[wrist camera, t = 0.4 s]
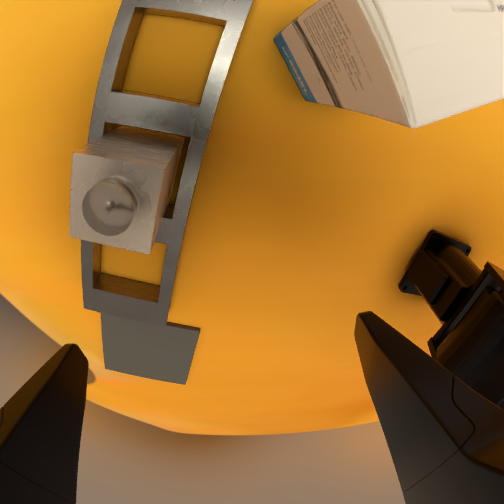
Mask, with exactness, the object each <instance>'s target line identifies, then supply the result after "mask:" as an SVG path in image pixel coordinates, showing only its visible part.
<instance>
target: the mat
mask: <svg viewBox="0 0 504 504" xmlns="http://www.w3.org/2000/svg"><path fill="white" fill-rule="evenodd" d="M101 325H102V340H103V352H104V363H105V369H109V370H113V371H117V372H122V373H126V374H131V375H135V376H140V377H145V378H150V379H155V380H160V381H166V382H172V383H178V384H184V385H186V381H187V377H188V373H189V370H190V366H191V362H192V359H193V355H194V351H195V348H196V344H197V340H198V337H199V333H200V328H195V327H190V326H184V325H179V324H174V323H169V322H167V324H166V327H163V326H158V325H154V324H149V323H144V322H139V321H135V320H130V319H126V318H122V317H117V316H113V315H109V314H105V313H101Z"/></svg>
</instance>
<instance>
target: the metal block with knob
mask: <svg viewBox="0 0 504 504" xmlns="http://www.w3.org/2000/svg"><path fill="white" fill-rule="evenodd" d="M183 142H184V137H179V136H174V135H169V134H165V133H160V132H154V131H149V130H144V129H138V128H132V127H127V126H120V127H118V128H116V129H114V130H112V131H111V132H109V133H107V134H105V135H103V136H101V137H99V138H98V139H96V140H94V141H92V142H90V143H89V144H87V145H85V146H83V147H82V148H80V149H78V150H77V151H75V152H73V163H72V175H71V192H70V237H73V238H78V239H82V240H86V241H91V242H95V243H99V244H104V245H108V246H113V247H117V248H122V249H126V250H131V251H135V252H140V253H144V254H149V255H150V252H151V249H152V246H153V244H154V241H155V238H156V235H157V233H158V230H159V227H160V224H161V222H162V219H163V217H164V214H165V211H166V209H167V206H168V204H169V201H170V199H171V194H172V189H173V185H174V180H175V176H176V171H177V167H178V163H179V158H180V154H181V150H182V146H183Z"/></svg>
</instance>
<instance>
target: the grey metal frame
mask: <svg viewBox="0 0 504 504" xmlns="http://www.w3.org/2000/svg"><path fill="white" fill-rule="evenodd" d="M252 2H253V0H123V1H122V4H121V6H120V9H119V12H118V15H117V18H116V21H115V24H114V27H113V30H112V33H111V36H110V40H109V43H108V47H107V50H106V54H105V58H104V61H103V65H102V69H101V74H100V78H99V82H98V87H97V91H96V96H95V101H94V107H93V112H92V118H91V124H90V130H89V137H88V144H89V143H90V142H92V141H94V140H96V139H98V138H99V137H101V136H103V135H105V134H107V133H109V132H111V131H112V130H114V124H115V123H116V124H122V125H128V126H134V127H140V128H145V129H151V130H156V131H161V132H166V133H171V134H176V135H181V136H185V137H190V138H191V140H190V143H189V147H188V151H187V155H186V159H185V164H184V168H183V172H182V176H181V181H180V185H179V190H178V194H177V199H176V203H175V206H172V205H168V206H167V209H166V211H165V214H164V217H163V219H162V222H161V224H160V227H159V230H158V233H157V235H156V238H155V242H160V243H164V244H167V250H166V255H165V261H164V267H163V273H162V279H161V286H157V285H153V284H148V283H143V282H139V281H134V280H130V279H125V278H121V277H117V276H112V275H108V274H104V273H101V244H99V243H95V242H91V241H86V240H82V239H81V264H82V287H83V302H84V308H85V309H89V310H93V311H97V312H101V313H105V314H109V315H113V316H117V317H122V318H126V319H130V320H135V321H139V322H144V323H149V324H154V325H158V326H163V327H166V324H167V318H168V312H169V307H170V301H171V295H172V290H173V285H174V279H175V274H176V269H177V264H178V259H179V254H180V249H181V245H182V240H183V235H184V231H185V226H186V222H187V217H188V213H189V209H190V204H191V200H192V196H193V192H194V188H195V184H196V180H197V176H198V172H199V168H200V164H201V161H202V157H203V153H204V149H205V146H206V142H207V138H208V135H209V131H210V128H211V124H212V121H213V117H214V114H215V111H216V107H217V104H218V101H219V97H220V94H221V91H222V88H223V85H224V81H225V78H226V75H227V72H228V69H229V66H230V63H231V60H232V57H233V54H234V51H235V48H236V45H237V43H238V40H239V37H240V34H241V31H242V29H243V26H244V23H245V20H246V18H247V15H248V12H249V10H250V7H251V5H252ZM144 13H145V14H154V15H163V16H170V17H177V18H184V19H190V20H195V21H201V22H206V23H211V24H215V25H220V26H224V27H225V29H224V31H223V34H222V37H221V40H220V43H219V46H218V49H217V52H216V55H215V58H214V61H213V64H212V67H211V70H210V73H209V76H208V80H207V83H206V86H205V89H204V93H203V96H202V100H201V103H200V104H197V103H193V102H188V101H183V100H178V99H173V98H168V97H163V96H157V95H151V94H145V93H139V92H132V91H125V90H122V86H123V82H124V78H125V74H126V70H127V67H128V63H129V59H130V56H131V52H132V49H133V45H134V42H135V39H136V36H137V33H138V30H139V26H140V23H141V21H142V18H143V15H144Z"/></svg>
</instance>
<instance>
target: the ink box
mask: <svg viewBox="0 0 504 504" xmlns="http://www.w3.org/2000/svg"><path fill="white" fill-rule="evenodd" d="M274 42H275V43H276V45H277V47H278V49H279V51H280V53H281V54H282V56H283V58H284V60H285V62H286V64H287V66H288V68H289V70H290V72H291V74H292V76H293V78H294V80H295V82H296V83H297V85H298V87H299V89H300V91H301V93H302V95H303V97H304V99H305V100H306V101H309V102H315V103H320V104H325V105H330V106H334V107H339V108H343V109H347V110H351V111H355V112H359V113H363V114H367V115H370V116H374V117H377V118H381V119H384V120H387V121H391V122H394V123H397V124H400V125H403V126H406V127H409V128H413V129H414V128H419V127H421V126H424V125H427V124H430V123H433V122H436V121H439V120H442V119H445V118H447V117H450V116H453V115H456V114H459V113H462V112H465V111H468V110H471V109H473V108H477V107H480V106H482V105H485V104H488V103H492V102H495V101H497V100H500V99H504V0H318V1H317V2H316V3H314V4H313V5H312V6H311V7H309V8H308V9H307V10H305V11H304V12H303V13H302V14H301V15H300V16H299V17H297V18H296V19H295V20H294V21H292V22H291V23H290V24H289V25H288V26H287V27H285V28H284V29H283V30H282V31H281V32H280V33H279V34H278V35H277V36H276V37H275V38H274Z"/></svg>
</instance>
